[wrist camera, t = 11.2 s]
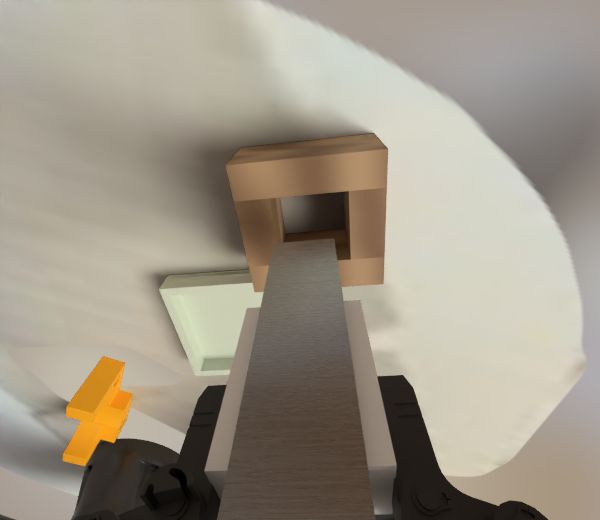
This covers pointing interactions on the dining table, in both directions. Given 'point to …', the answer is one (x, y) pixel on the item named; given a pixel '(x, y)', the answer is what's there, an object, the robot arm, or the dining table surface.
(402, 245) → the dining table surface
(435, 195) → the dining table surface
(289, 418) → the grey wooden beam
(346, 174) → the hollow wooden square
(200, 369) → the tray
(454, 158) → the dining table surface
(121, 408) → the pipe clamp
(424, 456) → the robot arm
